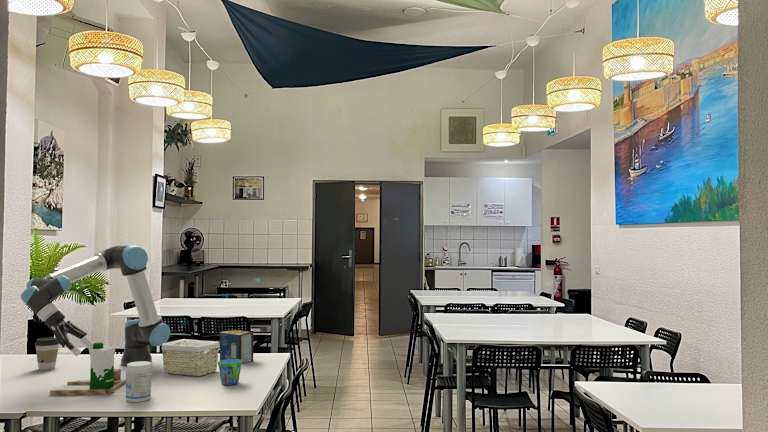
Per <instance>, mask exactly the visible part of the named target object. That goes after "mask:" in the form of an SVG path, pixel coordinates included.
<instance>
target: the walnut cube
mask: <svg viewBox="0 0 768 432" xmlns="http://www.w3.org/2000/svg"><path fill="white" fill-rule="evenodd" d="M121 373H122V370H121V368H114V381H120V380H122V379H121V378H122V377H121Z"/></svg>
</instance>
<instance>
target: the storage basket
mask: <svg viewBox="0 0 768 432" xmlns="http://www.w3.org/2000/svg"><path fill="white" fill-rule="evenodd" d="M161 350H162V365H163V372H164V373H167V374H168V375H180V376H181V375H182V376H190V377H191V376H192V377H200V376H204V375H207V373H209V374H211V373H214V372H216V371H217V370H218V362H219V360H218V359H219V353H220V341H213V340H199V339H186V338H183V339H182V338H181V339H177V340H173V341H167V342H166V343H163V344H162V345H161Z"/></svg>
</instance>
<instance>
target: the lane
mask: <svg viewBox="0 0 768 432" xmlns="http://www.w3.org/2000/svg"><path fill="white" fill-rule="evenodd" d="M66 384H67V385H66V386H85V385H86V386H90V381H78V380H73V381H72V380H70V381H67V382H66ZM125 385H126V380H124V381H114V386H113V387H111V388H110V389H90V388H89V389H51V390H49V396H52V397H53V396H54V397H55V396H60V397H61V396H111V395H113V394H115V391H117V390H119V389H120V388H121V387H122V386H125ZM106 394H107V395H106Z"/></svg>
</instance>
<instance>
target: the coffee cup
mask: <svg viewBox="0 0 768 432" xmlns="http://www.w3.org/2000/svg"><path fill="white" fill-rule="evenodd" d="M59 345H60V344H59V342H58V340H57V338H56V337H41V338H40V337H39V338H37V339H36V342H34V346H35V352H36V359H37V360H36V361H37V367H38V370H39V371H51V370H54V369H56V366H57V365H56V364H57V359H58V353H59V347H60V346H59ZM50 369H51V370H50Z"/></svg>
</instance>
